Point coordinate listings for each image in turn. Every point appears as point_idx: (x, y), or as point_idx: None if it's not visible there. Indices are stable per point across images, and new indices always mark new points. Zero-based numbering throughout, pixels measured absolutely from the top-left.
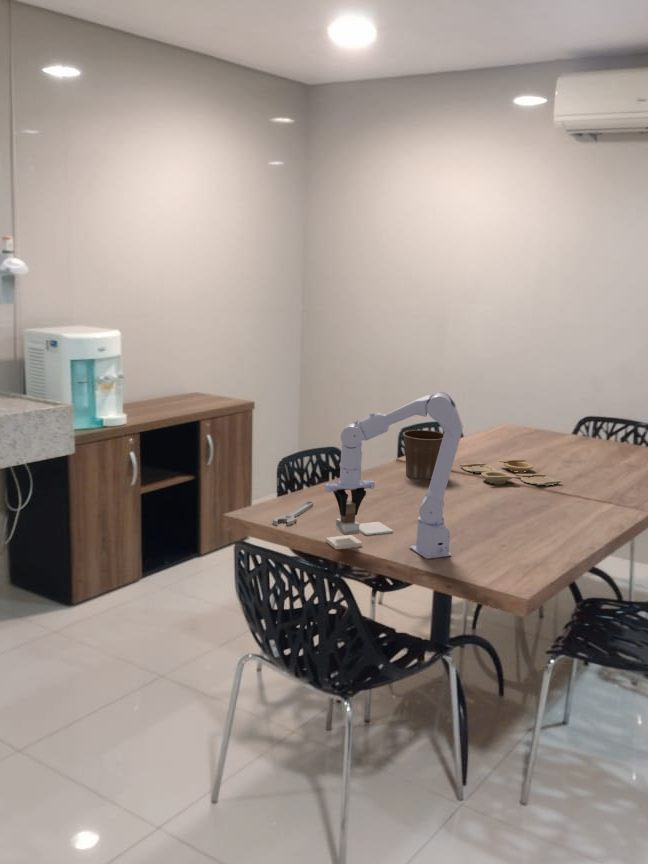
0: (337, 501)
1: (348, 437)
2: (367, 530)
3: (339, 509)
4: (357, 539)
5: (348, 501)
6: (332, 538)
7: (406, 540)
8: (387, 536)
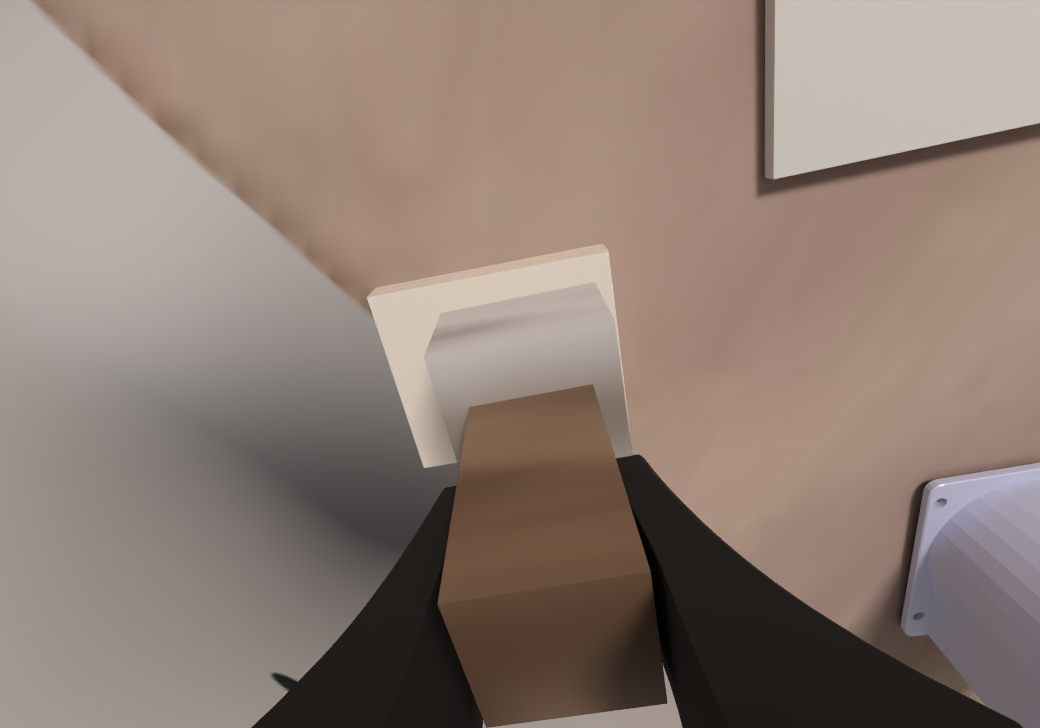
0: (347, 642)
1: None
2: (834, 77)
3: (420, 531)
4: None
5: (571, 625)
6: (421, 322)
7: (1019, 332)
8: (937, 219)
